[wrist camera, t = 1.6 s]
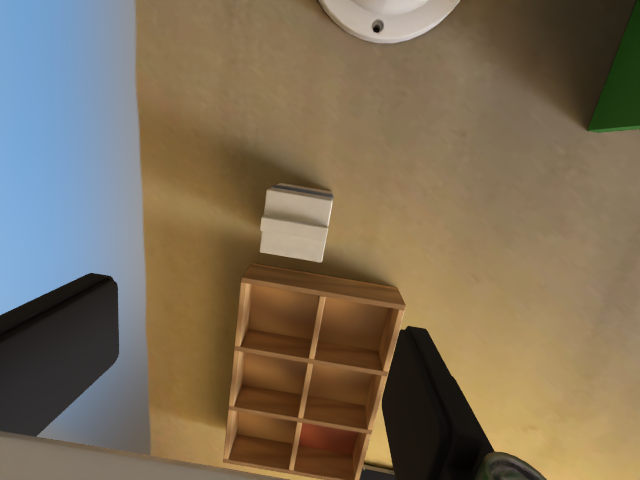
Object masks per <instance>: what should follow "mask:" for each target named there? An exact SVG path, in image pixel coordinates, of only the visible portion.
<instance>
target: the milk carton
mask: <svg viewBox="0 0 640 480" xmlns="http://www.w3.org/2000/svg"><path fill="white" fill-rule="evenodd" d="M332 202H333V192H331V191H326V190H320V189H314V188H308V187H302V186H296V185H290V184H284V183H279V184H277V185H274V186H272V187H271V188H269V189H267V190H266V199H265V208H264V216H262V217H261V224H260V231H262V234H261V243H260V252H262V253H268V254H274V255H280V256H285V257H291V258H297V259H303V260H309V261H315V262H322V259H323V254H324V248H325V242H326V237H327V232H328V225H329V219H330V214H331V208H332Z"/></svg>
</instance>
